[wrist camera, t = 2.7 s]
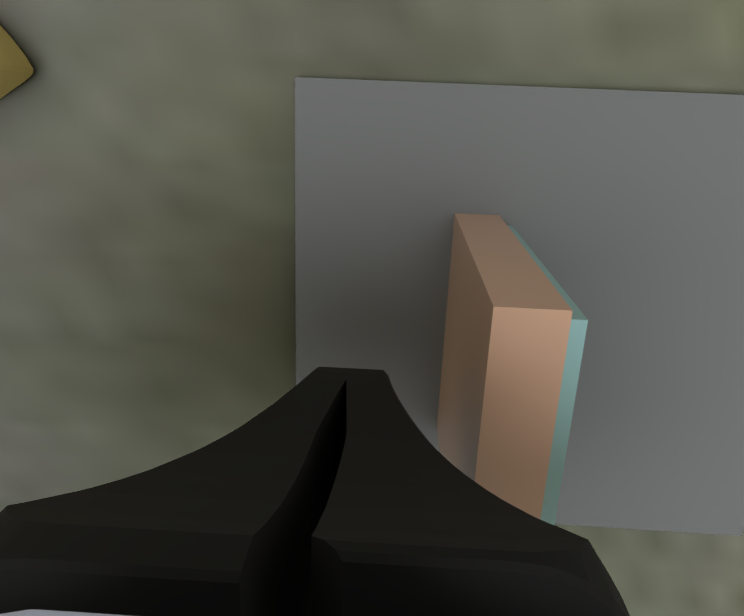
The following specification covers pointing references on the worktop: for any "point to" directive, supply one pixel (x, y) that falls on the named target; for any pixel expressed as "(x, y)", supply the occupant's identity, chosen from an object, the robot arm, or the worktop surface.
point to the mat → (557, 253)
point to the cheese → (12, 64)
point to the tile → (507, 366)
